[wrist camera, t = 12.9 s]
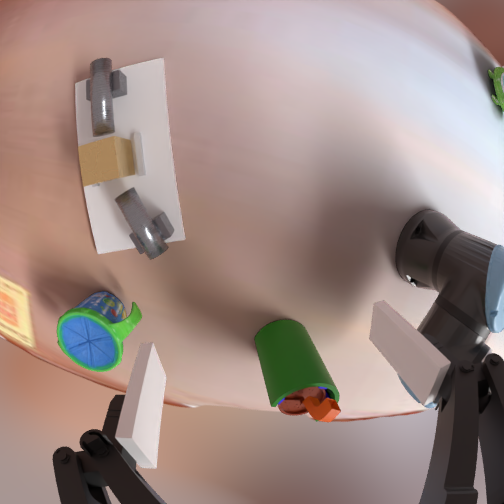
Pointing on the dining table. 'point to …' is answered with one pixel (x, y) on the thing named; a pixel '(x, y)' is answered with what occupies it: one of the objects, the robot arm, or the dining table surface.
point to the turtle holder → (498, 85)
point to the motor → (295, 372)
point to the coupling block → (106, 160)
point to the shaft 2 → (144, 225)
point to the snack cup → (96, 331)
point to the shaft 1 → (104, 95)
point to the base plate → (134, 156)
